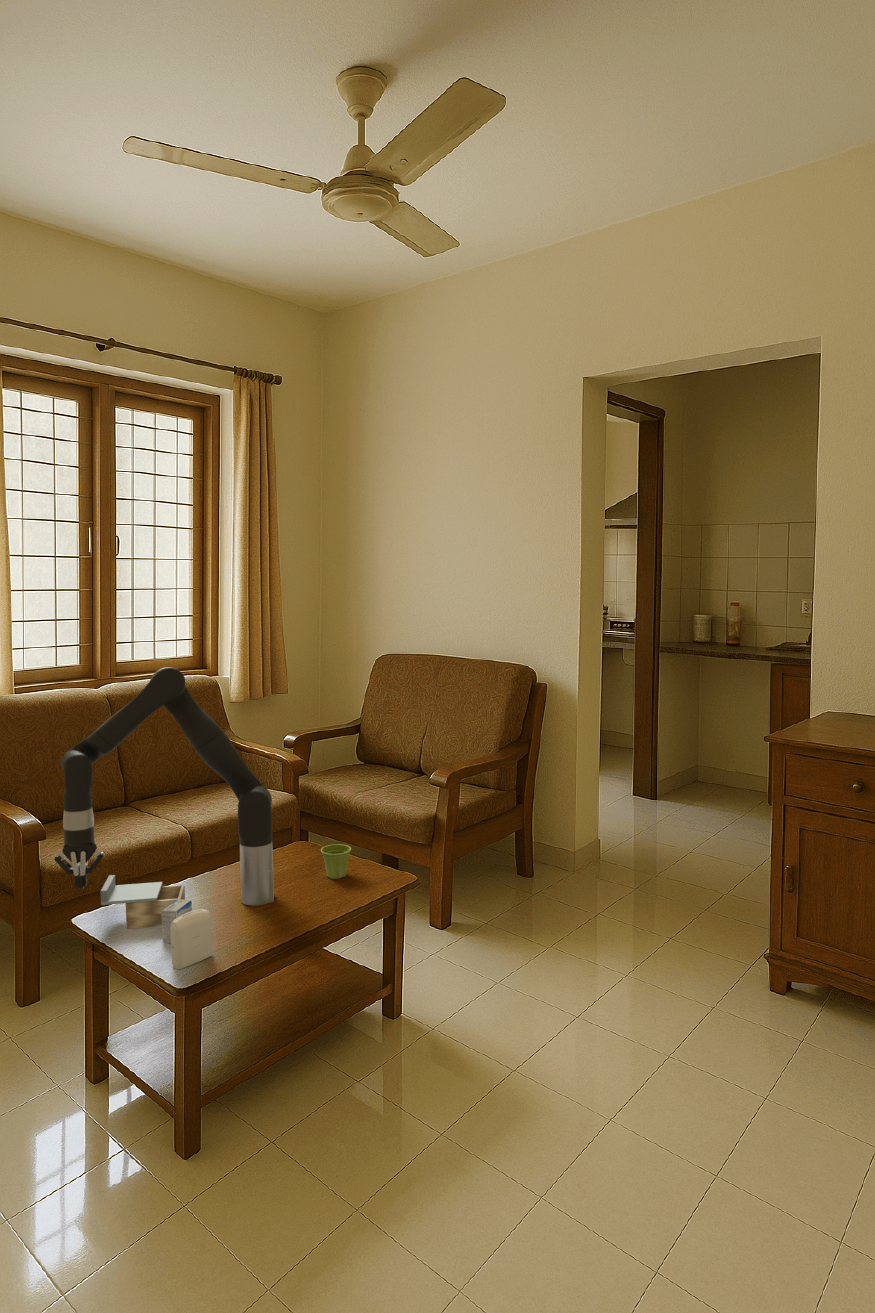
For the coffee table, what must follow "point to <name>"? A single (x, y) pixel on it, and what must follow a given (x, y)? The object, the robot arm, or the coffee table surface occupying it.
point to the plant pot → (336, 860)
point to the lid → (129, 892)
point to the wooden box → (152, 908)
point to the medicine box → (173, 916)
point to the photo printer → (191, 938)
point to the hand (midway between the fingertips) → (81, 887)
